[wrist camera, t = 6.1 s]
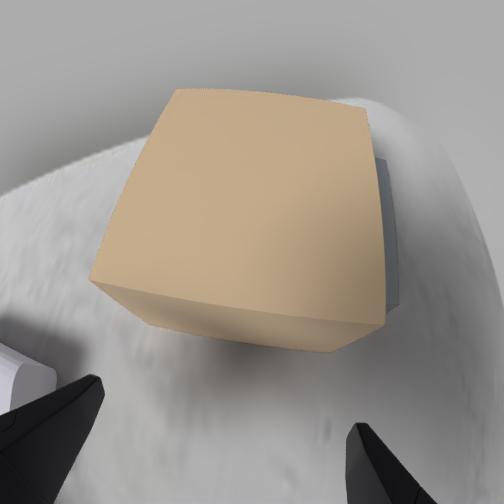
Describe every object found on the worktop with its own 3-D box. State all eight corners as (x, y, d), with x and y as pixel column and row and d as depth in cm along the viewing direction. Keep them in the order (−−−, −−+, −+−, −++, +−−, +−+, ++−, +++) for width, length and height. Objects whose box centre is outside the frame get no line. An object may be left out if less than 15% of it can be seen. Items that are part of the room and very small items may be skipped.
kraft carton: (329, 353, 17) (385, 325, 10) (150, 325, 17) (88, 279, 10) (336, 190, 22) (365, 108, 15) (194, 172, 23) (176, 88, 15)
